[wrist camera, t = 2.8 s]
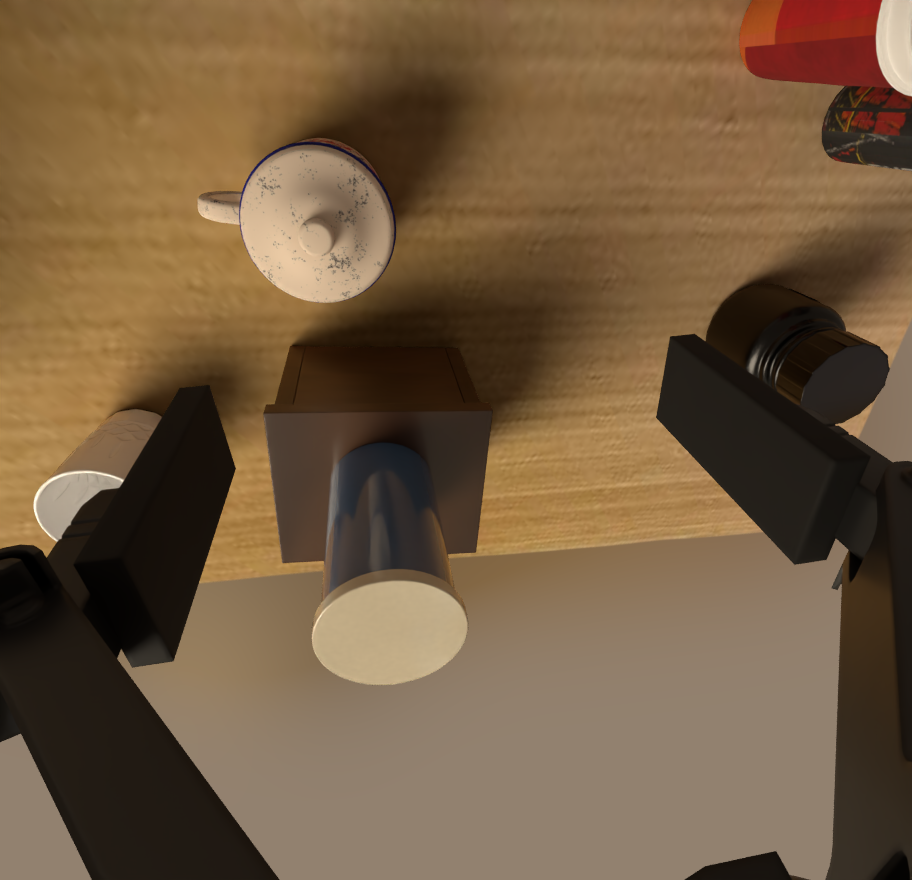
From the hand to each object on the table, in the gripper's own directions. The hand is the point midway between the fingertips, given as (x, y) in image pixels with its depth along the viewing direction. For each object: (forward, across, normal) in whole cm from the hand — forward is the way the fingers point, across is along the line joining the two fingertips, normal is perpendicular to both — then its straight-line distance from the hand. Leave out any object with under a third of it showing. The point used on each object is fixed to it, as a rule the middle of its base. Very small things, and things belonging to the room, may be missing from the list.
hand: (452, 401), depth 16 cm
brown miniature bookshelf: (+30, -3, -16) cm, 34 cm away
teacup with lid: (+30, -6, +1) cm, 31 cm away
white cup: (+30, -23, -17) cm, 42 cm away
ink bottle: (+30, +32, -12) cm, 45 cm away
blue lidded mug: (+18, -3, -17) cm, 25 cm away
